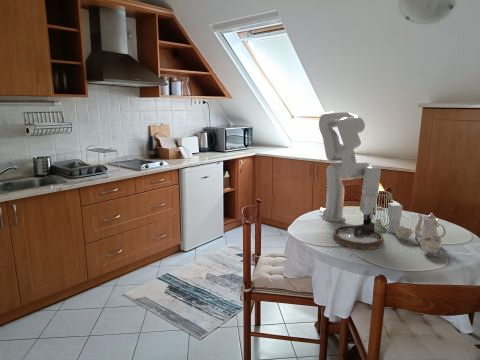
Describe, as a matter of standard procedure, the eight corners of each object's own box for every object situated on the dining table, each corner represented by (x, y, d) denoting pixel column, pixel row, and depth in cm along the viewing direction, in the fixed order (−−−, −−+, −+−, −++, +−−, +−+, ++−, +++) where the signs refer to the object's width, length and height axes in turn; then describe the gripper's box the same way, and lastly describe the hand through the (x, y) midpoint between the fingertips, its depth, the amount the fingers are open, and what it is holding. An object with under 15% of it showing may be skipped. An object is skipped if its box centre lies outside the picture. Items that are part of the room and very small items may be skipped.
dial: (356, 248, 160) (357, 234, 158) (328, 233, 177) (329, 220, 176) (388, 241, 168) (390, 228, 166) (359, 227, 185) (360, 215, 184)
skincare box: (380, 227, 190) (383, 200, 187) (391, 226, 191) (394, 200, 188) (388, 232, 182) (391, 205, 179) (399, 232, 183) (403, 204, 179)
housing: (324, 239, 172) (324, 233, 172) (346, 227, 189) (347, 221, 188) (370, 254, 157) (371, 247, 156) (391, 240, 173) (391, 233, 172)
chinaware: (386, 240, 177) (387, 208, 173) (413, 233, 182) (414, 202, 178) (433, 265, 152) (435, 228, 147) (462, 255, 157) (465, 220, 152)
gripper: (357, 187, 180) (354, 221, 185) (368, 195, 166) (364, 232, 170) (372, 187, 181) (368, 221, 185) (384, 195, 166) (380, 232, 170)
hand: (366, 226), depth 178 cm, fingers closed
